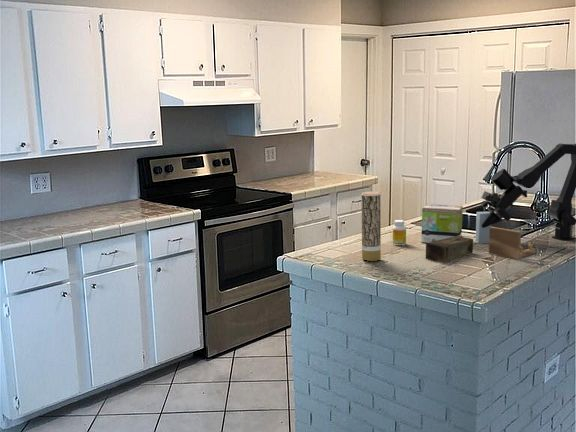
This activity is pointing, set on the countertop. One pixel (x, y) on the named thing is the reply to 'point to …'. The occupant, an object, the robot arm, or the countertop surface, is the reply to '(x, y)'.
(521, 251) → the wooden knob panel
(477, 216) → the grey block
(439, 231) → the tea box
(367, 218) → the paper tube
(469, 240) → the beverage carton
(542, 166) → the robot arm
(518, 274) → the countertop surface
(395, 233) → the supplement bottle
